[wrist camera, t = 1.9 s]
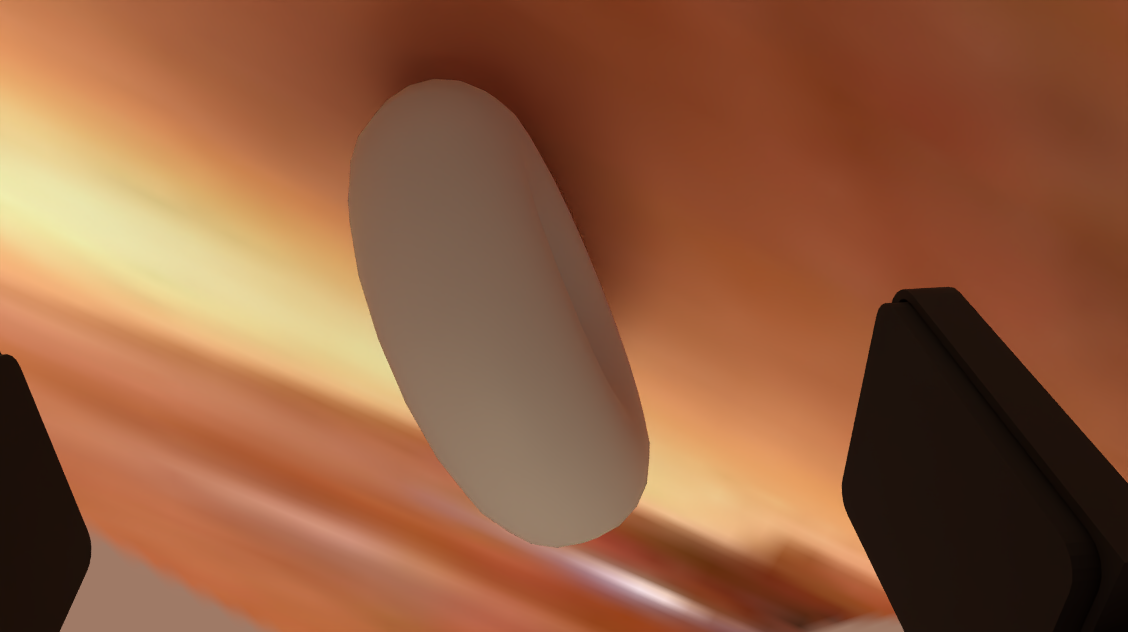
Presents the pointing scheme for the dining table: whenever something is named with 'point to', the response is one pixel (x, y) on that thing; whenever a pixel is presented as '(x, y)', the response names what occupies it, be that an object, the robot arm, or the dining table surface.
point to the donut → (495, 315)
